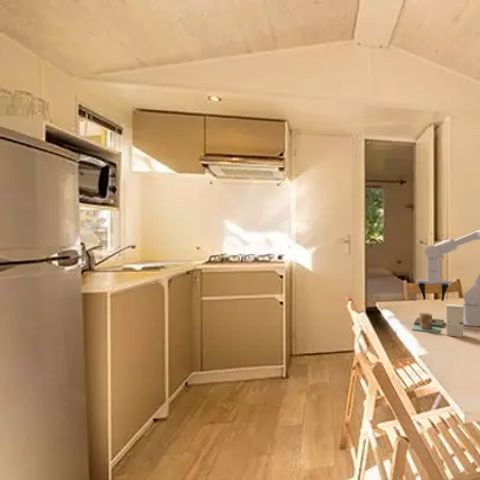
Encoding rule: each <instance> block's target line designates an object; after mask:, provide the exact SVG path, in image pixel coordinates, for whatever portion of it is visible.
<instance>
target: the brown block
mask: <svg viewBox="0 0 480 480" xmlns="http://www.w3.org/2000/svg"><path fill="white" fill-rule="evenodd" d="M419 318H420V327H421V329H431V330H432V319H433V315H432V314H431V313H430V312H428V313H427V312H419Z"/></svg>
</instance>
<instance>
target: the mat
mask: <svg viewBox="0 0 480 480" xmlns="http://www.w3.org/2000/svg"><path fill="white" fill-rule="evenodd" d="M411 331H414V332H415V331H416V332H424V333H434V334H439V333H440V331H441V328H439V327H432V330H431V329H421V327H420V326H419V325H414V324H413V327H412V328H411Z"/></svg>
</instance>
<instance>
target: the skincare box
mask: <svg viewBox="0 0 480 480" xmlns="http://www.w3.org/2000/svg"><path fill="white" fill-rule="evenodd" d="M463 321H464V304H463V305H462V304H453V303H447V304H446V331H445V332H446V336H451V337H460V338H463V337H464V325H463Z"/></svg>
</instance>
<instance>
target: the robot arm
mask: <svg viewBox="0 0 480 480" xmlns="http://www.w3.org/2000/svg"><path fill="white" fill-rule="evenodd" d="M475 240H476V241H477V240H478V241H479V240H480V229H479V230H476V231H473V232H471V233H468V234H465V235H463V236H460V237H458V238H456V239H454V238H451V237H450V238H448V237H446V238H444V240H442V241H440V242H435V243H434V245H429V246H427V247H426V248H425V249H424V255H425V256H426V258H425V259H426V261H425V262H426V263H425V265H426V268H425V269H426V270H425V271H426V274H425V275H426V279H416V280H415V283H416V285H418V288H419V289H420V292H421V295H422V298H423V299H422V300H426V285H433V286H441V302H443V301H444V299H445V296H446V292H447V290H448V287H449V286H452V281H451V280H443V279H441V261H440V256H442V255H446V254H448V253H451V252H454V251H456V250H458V247H460V246H461V245H464V244H467V243H471V242H473V241H475ZM462 299H463V300H464V302H463V306H464V321H463V326H470V327H471V326H472V327H480V273H478V276H477V278H475V280H474V283H473V284H472V285H471V287H470V288H469V289H468V290H466V292H464V293H463V298H462Z"/></svg>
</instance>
